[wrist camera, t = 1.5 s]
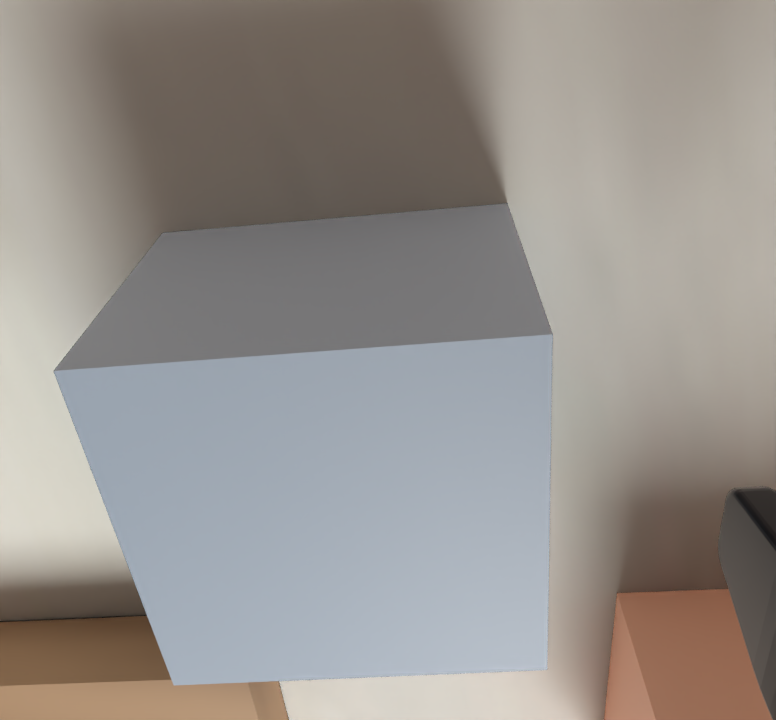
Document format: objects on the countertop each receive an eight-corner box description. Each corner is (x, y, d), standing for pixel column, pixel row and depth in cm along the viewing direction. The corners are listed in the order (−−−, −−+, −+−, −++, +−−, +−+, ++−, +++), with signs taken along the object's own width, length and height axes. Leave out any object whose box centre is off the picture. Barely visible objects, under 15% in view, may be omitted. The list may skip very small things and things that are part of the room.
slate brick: (511, 473, 13) (547, 669, 10) (234, 490, 13) (173, 685, 10) (506, 199, 11) (551, 334, 7) (165, 229, 11) (53, 369, 8)
